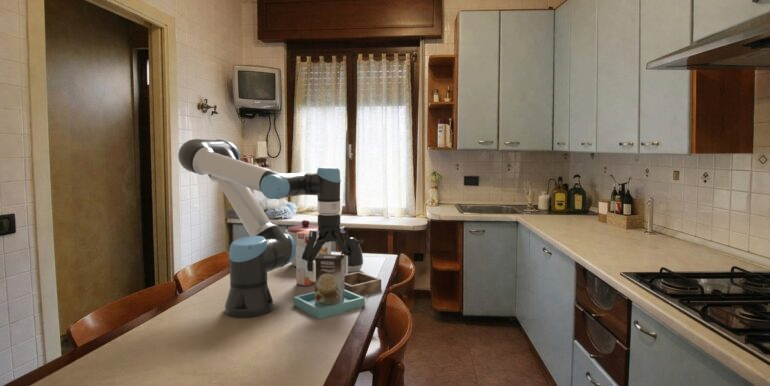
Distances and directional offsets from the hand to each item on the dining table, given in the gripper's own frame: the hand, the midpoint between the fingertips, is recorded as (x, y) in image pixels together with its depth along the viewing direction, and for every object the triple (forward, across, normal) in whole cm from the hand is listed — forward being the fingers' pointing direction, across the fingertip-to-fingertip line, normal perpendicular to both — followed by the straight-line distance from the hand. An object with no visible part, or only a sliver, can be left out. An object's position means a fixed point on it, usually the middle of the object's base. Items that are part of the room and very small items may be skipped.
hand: (329, 277), depth 145 cm
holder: (+10, +18, +9) cm, 22 cm away
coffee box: (+9, 0, 0) cm, 9 cm away
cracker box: (+10, +11, +27) cm, 31 cm away
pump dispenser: (+10, +32, +30) cm, 45 cm away
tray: (+10, 0, 0) cm, 10 cm away
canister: (+10, +22, +52) cm, 57 cm away
